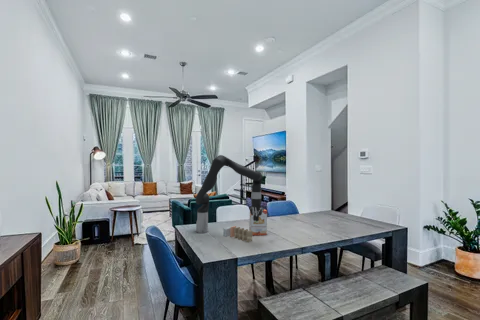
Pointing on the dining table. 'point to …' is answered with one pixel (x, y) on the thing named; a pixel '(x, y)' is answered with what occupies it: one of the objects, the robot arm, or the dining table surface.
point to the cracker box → (259, 224)
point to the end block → (226, 231)
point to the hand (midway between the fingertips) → (256, 220)
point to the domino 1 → (232, 231)
